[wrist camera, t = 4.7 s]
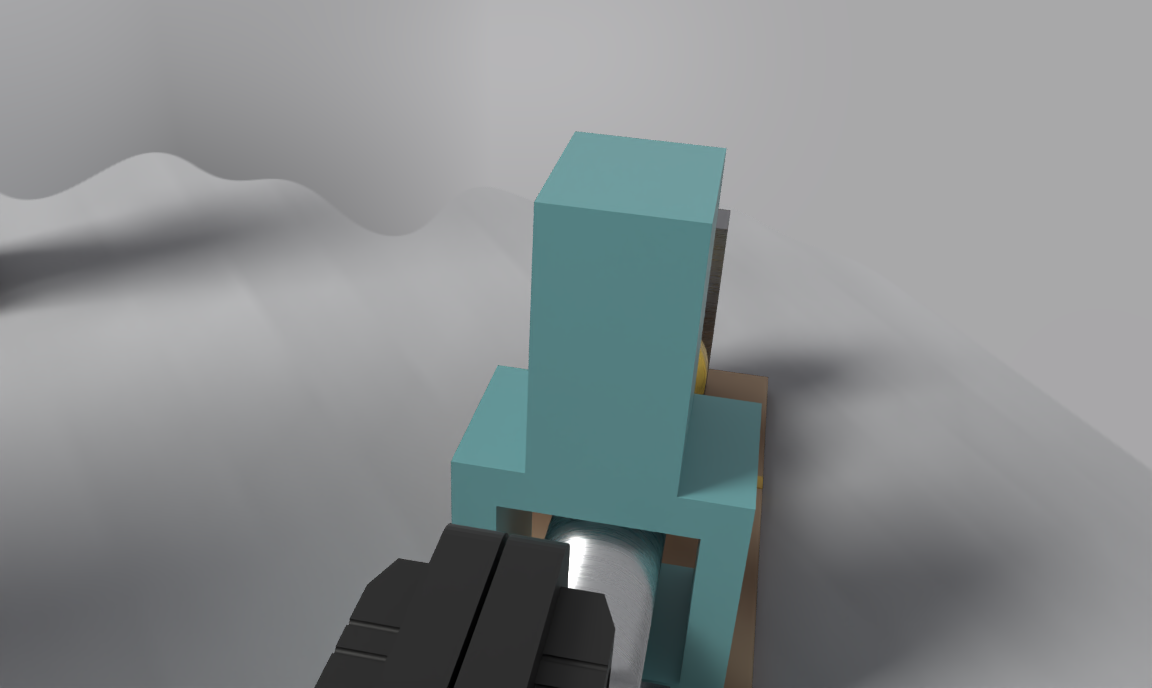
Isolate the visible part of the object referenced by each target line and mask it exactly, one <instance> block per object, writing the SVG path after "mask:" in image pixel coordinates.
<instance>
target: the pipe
mask: <svg viewBox="0 0 1152 688" xmlns="http://www.w3.org/2000/svg"><path fill="white" fill-rule="evenodd" d="M729 218H730V210H724V209H718V216H717V224H716V231H715V239H714V246H713V254H712V262H711V269H710V277H709V285H708V292H707V300H706V307H705V315H704V323H703V330H702V338H701V345H700V353H699V361H698V368H697V376H696V384H695V391H694V394H700V395H705V391H706V384H707V377H708V370H709V363H710V355H711V348H712V341H713V334H714V326H715V319H716V312H717V305H718V297H719V290H720V283H721V276H722V268H723V261H724V254H725V247H726V239H727V232H728V225H729ZM545 539H546V540H552V541H558V542H564V543H569V544H570V566H569V579H568V588H573V589H579V590H585V591H591V592H596V593H602V594H605V598H606V601H607V604H608V607H609V610H610V613H611V616H612V619H613V623H614V626H615V637H614V646H613V656H612V665H611V674H610V684H609V688H670V686H665V685H659V684H654V683H649V682H643V681H641V679H642V674H643V668H644V662H645V656H646V650H647V644H648V638H649V633H650V627H651V621H652V615H653V609H654V603H655V597H656V592H657V586H658V580H659V574H660V568H661V562H662V556H663V550H664V545H665V539H666V534H665V533H659V532H653V531H647V530H641V529H634V528H628V527H622V526H616V525H610V524H604V523H598V522H592V521H585V520H579V519H573V518H567V517H561V516H555V515H552V517H551V520H550V523H549V526H548V529H547V533H546V536H545Z"/></svg>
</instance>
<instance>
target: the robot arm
mask: <svg viewBox="0 0 1152 688" xmlns="http://www.w3.org/2000/svg"><path fill="white" fill-rule="evenodd" d="M569 566H570V544H569V543H564V542H558V541H552V540H546V539H540V538H534V537H528V536H522V535H516V534H511V535H510V536H509V535H508V533H506V532H500V531H494V530H488V529H482V528H475V527H469V526H463V525H457V524H451V523H450V524H448V525H447V526H446V528H445V529H444V531H443V533H442V535H441V538H440V540H439V542H438V544H437V547H436V549H435V551H434V553H433V556H432V558H431V560H430V562H429V563H423V562H417V561H411V560H405V559H400V558H398V559H397V560H396V561H395V562H394V563H392V564H391V565H390V566H389V567H388V568H387V569H385V570H384V571H383V572H382V573H381V574H379V575H378V576H377V577H376V578H375V579H373V580H372V581H371V582H370V583H369V584H367V586H366V588H365V590H364V592H363V594H362V596H361V598H360V600H359V602H358V604H357V606H356V608H355V609H354V611H353V613H352V615H351V617H350V622H349V625H346V627H345V629H344V631H343V633H342V635H341V637H340V639H339V641H338V643H337V645H336V649H335V653H332V654H331V656H330V658H329V660H328V662H327V664H326V666H325V668H324V670H323V672H322V674H321V676H320V678H319V680H318V682H317V684H316V686H315V688H609V684H610V674H611V665H612V656H613V646H614V637H615V626H614V623H613V619H612V616H611V613H610V610H609V607H608V604H607V601H606V598H605V594H602V593H596V592H591V591H585V590H579V589H573V588H568V579H569Z"/></svg>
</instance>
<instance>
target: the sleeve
mask: <svg viewBox="0 0 1152 688" xmlns="http://www.w3.org/2000/svg"><path fill="white" fill-rule="evenodd" d="M725 155H726V148H718V147H709V146H701V145H692V144H682V143H673V142H664V141H656V140H647V139H639V138H630V137H621V136H612V135H602V134H594V133H585V132H575V133H574V135H573V136H572V138H571V140H570V142H569V143H568V145H567V147H566V148H565V150H564V152H563V154H562V156H561V157H560V159H559V161H558V162H557V164H556V166H555V167H554V169H553V171H552V173H551V174H550V176H549V178H548V179H547V181H546V183H545V184H544V186H543V188H542V190H541V191H540V193H539V195H538V196H537V198H536V200H535V202H534V224H533V253H532V282H531V311H530V340H529V369H521V368H514V367H507V366H500V365H498V366H497V368H496V370H495V372H494V375H493V377H492V379H491V381H490V383H489V385H488V387H487V389H486V391H485V393H484V395H483V397H482V399H481V401H480V403H479V405H478V407H477V409H476V411H475V413H474V416H473V418H472V420H471V422H470V424H469V426H468V428H467V430H466V432H465V434H464V436H463V438H462V440H461V442H460V444H459V446H458V448H457V450H456V452H455V454H454V456H453V459H452V461H451V502H452V524H457V525H463V526H469V527H475V528H482V529H488V530H494V531H500V532H506V533H508V535H509V536H510V535H511V534H516V535H522V536H528V537H531V536H532V512H536V513H543V514H549V515H555V516H561V517H567V518H573V519H579V520H585V521H592V522H598V523H604V524H610V525H616V526H622V527H628V528H634V529H641V530H647V531H653V532H659V533H665V534H671V535H677V536H683V537H690V538H696V539H699V540H698V547H697V554H696V561H695V567H694V568H689V567H683V566H677V565H671V564H665V563H661V568H660V574H659V580H658V586H657V592H656V597H655V603H654V609H653V615H652V621H651V627H650V633H649V638H648V644H647V650H646V656H645V662H644V668H643V674H642V679H641V681H643V682H649V683H654V684H659V685H665V686H670V688H724V683H725V677H726V672H727V666H728V660H729V655H730V649H731V644H732V638H733V632H734V627H735V621H736V616H737V610H738V605H739V599H740V593H741V588H742V582H743V577H744V571H745V566H746V560H747V554H748V549H749V543H750V538H751V532H752V526H753V521H754V515H755V510H756V493H757V476H758V459H759V442H760V426H761V409H762V403H756V402H749V401H742V400H735V399H728V398H721V397H714V396H707V395H700V394H694V391H695V384H696V376H697V368H698V361H699V353H700V345H701V338H702V330H703V323H704V315H705V307H706V300H707V292H708V285H709V277H710V269H711V262H712V254H713V246H714V239H715V231H716V224H717V216H718V208H719V200H720V193H721V186H722V178H723V170H724V162H725Z"/></svg>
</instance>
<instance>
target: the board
mask: <svg viewBox="0 0 1152 688" xmlns="http://www.w3.org/2000/svg"><path fill="white" fill-rule="evenodd" d="M767 389H768V377H763V376H756V375H749V374H742V373H735V372H728V371H721V370H714V369H709V370H708V377H707V384H706V391H705V395H707V396H714V397H721V398H728V399H735V400H742V401H749V402H756V403H762V409H761V426H760V442H759V459H758V476H757V493H756V510H755V515H754V521H753V526H752V532H751V538H750V543H749V549H748V554H747V560H746V566H745V571H744V577H743V582H742V588H741V593H740V599H739V605H738V610H737V616H736V621H735V627H734V632H733V638H732V644H731V649H730V655H729V660H728V666H727V672H726V677H725V683H724V688H752V678H753V659H754V640H755V621H756V601H757V582H758V563H759V543H760V524H761V505H762V488H763V466H764V447H765V428H766V409H767ZM551 517H552V515H549V514H543V513H536V512H532V536H531V537H534V538H540V539H545V536H546V533H547V529H548V526H549V523H550V520H551ZM698 540H699V539H696V538H690V537H683V536H677V535H671V534H666V539H665V545H664V550H663V556H662V562H661V563H665V564H671V565H677V566H683V567H689V568H694V567H695V561H696V554H697V547H698Z"/></svg>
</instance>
